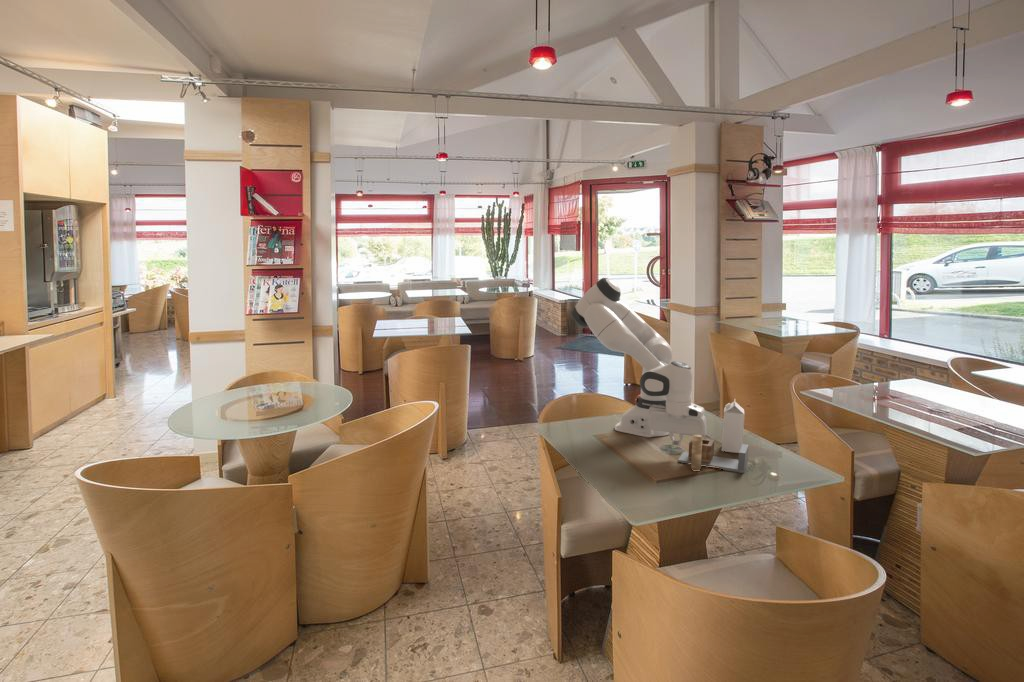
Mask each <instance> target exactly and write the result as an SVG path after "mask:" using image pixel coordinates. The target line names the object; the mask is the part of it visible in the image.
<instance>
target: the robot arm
mask: <svg viewBox="0 0 1024 682" xmlns="http://www.w3.org/2000/svg"><path fill="white" fill-rule="evenodd" d="M621 296H622V295H621V289H620V287H619V284H617V282H615V281H614V280H612V279H611V278H608V277H602V278H600V279H598V281H596V282H595V284H594V285H592V287H590V288H589V289H588V290H587V291H586V292H585V293H584V295H583V296H582V297H580V299H579V300H578V302H576V304H575V305H574V306H572V307H573V308H572V309H571V311H570V313H571V314H570V316H571V319H572V320H573V322H574V323H575V324H577V326H579V327H580V328H583V329H589V330H590V331H591V333H592V334H593V335H594V336H595V337H596V339H597V340H598V341H599V342H600V343H601V345H602V346H604V347H605V348H606V349H608V350H610V351H612V352H616V353H618V352H619V353H624V354H626V355H628V356H630V357H632V358H633V359H634V360H635V361H636V362H637V363H638V364H639V365H640V366H641V367H642V371H641V372H642V373H641V377H640V379H639V387H640V394H638V395H636V398H635V399H634V403H635V405H633V406H632V407H630V408H629V409H627V410H626V411H624V412H623V414H622V415H621V418H620V421H619V422H617V423H616V424H615V425H614V430H615V431H617V432H621V433H626V434H629V435H635V436H640V437H643V438H653V437H664V436H669V438H670V441H671V445H672V446H678V447H681V445H682V440H683V439H684V437H685V436H691V437H693V435H701V436H703V438H704V437H705V436H706V435H707V432H708V426H707V425H708V423H707V422H708V421H707V418H706V416H705V415H704V414H705V407H703V406H701V405H698V404H695V403H694V402H693V401H692V391H693V370H692V367H691V366H690V365H688V364H687V363H685V362H682V361H675V360H674V361H673V348H672V347H671V345H670V344H669V343H668V341H666V339H665V338H664V337H663V336H661V334H659V333H658V332H657V330H655V329H654V328H653V327H651V326H650V325H649V324H648V323H647V322H646V321H645V320H644V318H642V317H641V316H640V315H639V314H637V312H635V311H634V310H633V309H632V308H631V307H630V306H628V304H626V303H625V302H624V301H622V300H621ZM675 434H678V435H679V436H678V437H680V438H679V439H678V438H677V439H676V438H675V437H674V435H675Z"/></svg>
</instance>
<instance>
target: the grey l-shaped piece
mask: <svg viewBox="0 0 1024 682" xmlns="http://www.w3.org/2000/svg"><path fill="white" fill-rule="evenodd" d="M688 455H689V451H683V452H682V453H681V455H680V456H679V458H678V459H677V463H678V462H682V463H681V464H683V463H691V460H689V459H688ZM748 460H749V444H746V443H743V444H742V447H741V449H740V451H739V453H738V459H737V458H736V459H735V458H734V459H733V458H729V457H728V458H727V457H722V456H714V457H713V458H712V460H711V462H710V463H708V462H701V465H706V466H715V467H719V468H722V469H723V471H726V472H727V471H728V472H733V473H740V474H745V471H746V469H747V466H748V462H749V461H748Z"/></svg>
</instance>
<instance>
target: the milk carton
mask: <svg viewBox="0 0 1024 682" xmlns="http://www.w3.org/2000/svg"><path fill="white" fill-rule="evenodd" d="M744 427H745V409H744V408H743V407H742V406H740V404H739V403H738V402H736V398H734V401H732V402H731V403H730V402H728V403H727V404H725V405H724V408H723V422H722V434H721V435H722V437H721V452H724V451H725V452H726V453H734V454H739V451H740V449H741V447H742V444H744V442H743V440H744Z"/></svg>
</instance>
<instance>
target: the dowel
mask: <svg viewBox="0 0 1024 682" xmlns="http://www.w3.org/2000/svg"><path fill="white" fill-rule="evenodd" d="M692 438H693V441H692V459H691V465H690V470H691V469H693V470H700V469H701V470H702V466H701V456H702V439H704V437H703V436H701V435H693V436H692Z"/></svg>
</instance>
